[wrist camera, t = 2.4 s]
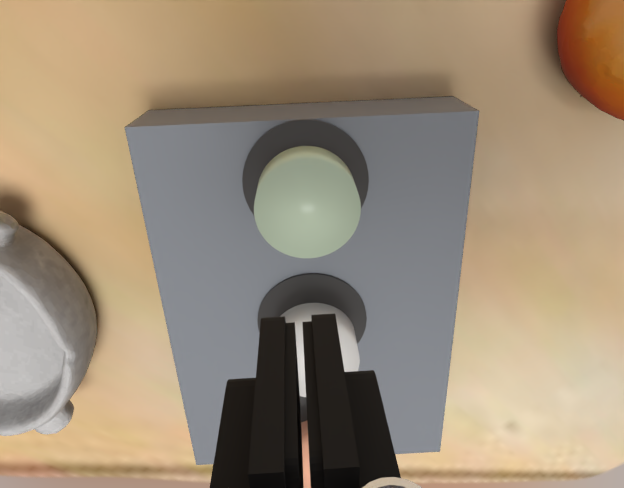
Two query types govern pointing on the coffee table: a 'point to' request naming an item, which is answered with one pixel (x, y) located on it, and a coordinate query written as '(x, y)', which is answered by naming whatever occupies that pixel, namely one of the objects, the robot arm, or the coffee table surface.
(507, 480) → the coffee table surface
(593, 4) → the fruit
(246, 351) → the console
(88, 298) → the dish
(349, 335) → the white button
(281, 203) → the sage button
